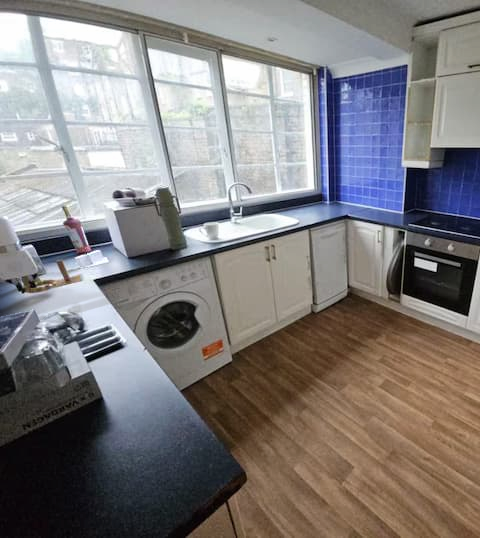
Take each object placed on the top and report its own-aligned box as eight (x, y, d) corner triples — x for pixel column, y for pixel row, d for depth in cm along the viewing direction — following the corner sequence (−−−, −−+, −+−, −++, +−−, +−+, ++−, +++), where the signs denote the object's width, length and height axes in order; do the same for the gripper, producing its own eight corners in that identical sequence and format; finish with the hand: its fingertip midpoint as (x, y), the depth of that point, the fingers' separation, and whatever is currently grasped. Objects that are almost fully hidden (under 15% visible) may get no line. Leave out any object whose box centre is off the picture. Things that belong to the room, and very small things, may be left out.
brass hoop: (24, 296, 115) (22, 291, 114) (24, 288, 121) (22, 284, 120) (59, 288, 122) (57, 283, 121) (58, 281, 128) (56, 276, 127)
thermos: (166, 247, 178) (148, 188, 164) (188, 243, 185) (172, 186, 171) (169, 251, 172) (151, 190, 158) (191, 246, 179) (175, 187, 165)
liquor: (95, 251, 177) (76, 204, 166) (83, 255, 170) (62, 207, 159) (86, 250, 178) (67, 204, 167) (73, 254, 172) (52, 207, 161)
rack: (56, 289, 129) (44, 265, 125) (55, 283, 135) (44, 260, 130) (83, 282, 135) (72, 259, 130) (81, 277, 141) (71, 255, 136)
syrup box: (44, 271, 149) (31, 244, 144) (47, 273, 146) (33, 246, 140) (28, 275, 145) (14, 247, 139) (31, 277, 142) (16, 249, 136)
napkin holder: (106, 257, 166) (102, 247, 164) (109, 261, 159) (105, 251, 157) (70, 265, 156) (66, 255, 154) (72, 270, 149) (68, 260, 147)
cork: (43, 281, 137) (32, 260, 132) (43, 285, 133) (32, 263, 128) (25, 286, 133) (13, 263, 129) (24, 290, 129) (11, 267, 125)
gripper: (-27, 256, 104) (-2, 301, 111) (37, 245, 115) (56, 287, 122) (-25, 251, 109) (-1, 295, 116) (37, 241, 119) (55, 282, 127)
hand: (28, 290), depth 119 cm, fingers closed on brass hoop, 2 cm apart
